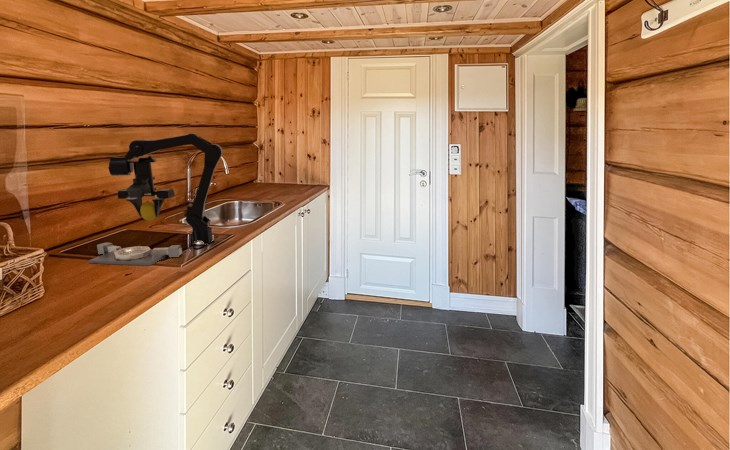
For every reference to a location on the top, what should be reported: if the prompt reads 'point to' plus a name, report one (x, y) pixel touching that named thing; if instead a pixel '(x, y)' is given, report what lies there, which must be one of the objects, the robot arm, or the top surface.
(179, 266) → the top surface
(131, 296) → the top surface
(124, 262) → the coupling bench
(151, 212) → the lemon
